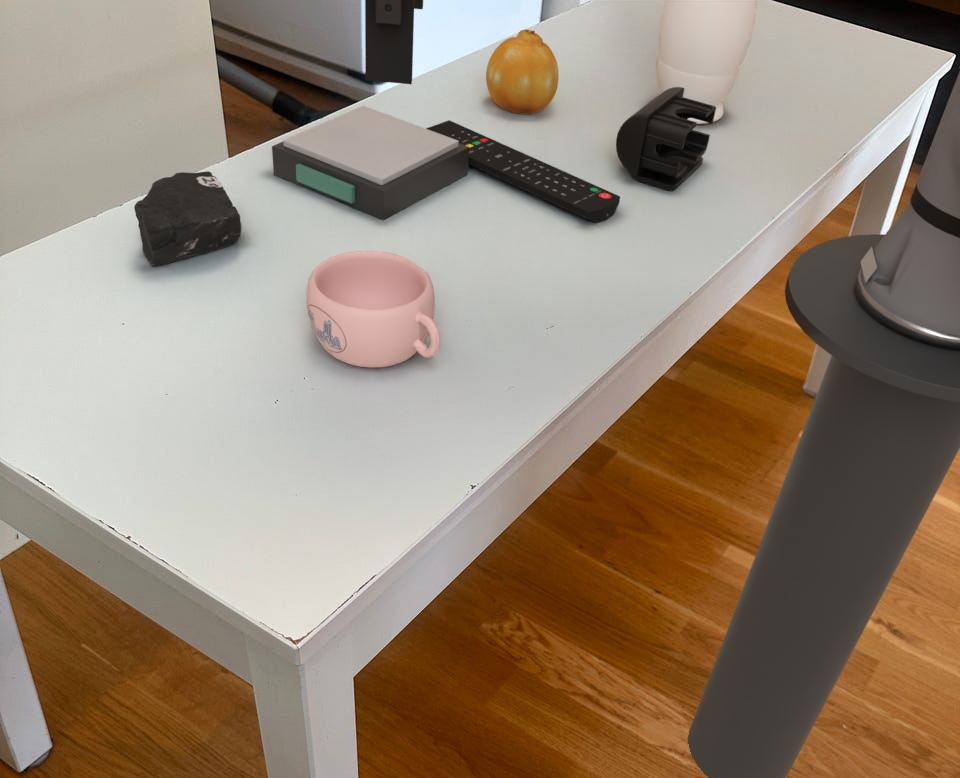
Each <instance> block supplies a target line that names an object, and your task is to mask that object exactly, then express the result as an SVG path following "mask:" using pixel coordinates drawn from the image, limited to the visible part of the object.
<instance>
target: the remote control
mask: <svg viewBox="0 0 960 778" xmlns="http://www.w3.org/2000/svg"><path fill="white" fill-rule="evenodd" d="M425 129H428V130H431V131H433V132H436V133H439V134H441V135H444V136H447V137H450V138H452V139H455V140H458V141H459V143H460V144H462V145H465V146H468V147H469V158H468V165H470V166H472V167H474V168H476V169H478V170H480V171H482V172H484V173H486V174H488V175H491V176H493V177H495V178H498V179H500V180H502V181H505V182H506V183H508V184H510V185H513V186H514V187H517V188H519V189H520V190H521V189H522V190H523V191H526V192H528V193H530V194H532V195H534V196H536V197H538V198H541V199H543V200H544V201H547V202H549V203H552V204H553V205H555V206H558V207H560V208H562V209H564V210H566V211H568V212H570V213H573V214H575V215H577V216H579V217H581V218H584V219H586V220H588V221H592V222H595V223H599V222H600V223H601V222H604V221H607V220H609V218H611V217H612V216H614V214H615V213H616V211H617V208H618V206H619V205H620V200H621V196H620V195H619V194H617V193H615V192H614V193H613V192H611V191H609V190H607V189H604V188H602V187H600V186H598V185H596V184H593V183H591V182H589V181H586V180H584V179H582V178H580V177H578V176H575V175H573V174H571V173H568V172H566V171H564V170H562V169H560V168H558V167H555V166H553V165H551V164H548V163H546V162H544V161H541V160H540V159H537V158H535V157H533V156H530V155H528V154H526V153H524V152H521V151H519V150H517V149H516V148H513V147H510V146H508V145H506V144H503V143H501V142H499V141H497V140H494V139H493V138H490V137H488V136H486V135H483V134H481V133H479V132H477V131H475V130H473V129H470V128H468V127H466V126H463V125H462V124H459V123H457V122H454V121H452V120H450V119H449V120H446V121H443V122H439V123H436V124H434V125H432V126H429V127H426V128H425Z"/></svg>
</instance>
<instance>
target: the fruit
mask: <svg viewBox="0 0 960 778" xmlns="http://www.w3.org/2000/svg"><path fill="white" fill-rule="evenodd" d="M485 81H486V87H487V92H488V94H489V95H490V97H491V100H492V101H494V103H495V104H496V105H497V106H498V107H500V108H501V109H503V110H506V111H508V112H510V113H515V114H520V115H521V114H523V115H527V114H528V115H530V114H534V113H538V112H540V111H542V110H544V109H545V108H546V107H548V106H549V104H551V102H552V101H553V99H554V98H555V96H556V93H557V90H558V86H559V65H558V61H557V59H556V56H555V54H554V53H553V51H552V49H551V48H550V46H549V45H548V44H547V43H545V42H544V39H543V38H542V37H541V36H540V35H539V34H538V33H537V32H536V31H535V30H530V29H522V30H520V31H519V32H518V34H517V35H516V36H513V37H508V38H507V39H505V40H503V41H502V42H501V43H500V44H499V45H498V46H497V47H496V48H495V49H494V51H493V52H492V54H491V55H490V57H489V59H488V61H487V66H486V71H485Z"/></svg>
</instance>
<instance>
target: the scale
mask: <svg viewBox="0 0 960 778" xmlns="http://www.w3.org/2000/svg"><path fill="white" fill-rule="evenodd" d="M271 154H272V168H273V175H274V176H276V177H278V178H281V179H284V180H286V181H288V182H291V183H293V184H295V185H298V186H301V187H303V188H305V189H307V190H310V191H312V192H315V193H317V194H320V195H322V196H324V197H327V198H329V199H331V200H334V201H337V202H339V203H341V204H344V205H346V206H349V207H351V208H352V209H353V208H354V209H355V210H358V211H360V212H363V213H366V214H368V215H370V216H373V217H375V218H378V219H379V220H381V221H382V220H383V221H384V220H386V219H388V218H389V217H392V216H393V215H396V214H397V213H399V212H401V211H403V210H404V209H407V208H408V207H411V206H412V205H414V204H416V203H417V202H419V201H421V200H423V199H425V198H427V197H429V196H430V195H433V194H434V193H436V192H438V191H439V190H441V189H443V188H445V187H447V186H449V185H451V184H453V183H454V182H457V181H458V180H460V179H462V178H463V177H466V176H467V175H468V173H469V172H468V171H469V164H468V158H469V147H468V146H465V145H462V144H460V143H459V141H458V140H455V139H452V138H450V137H447V136H444V135H441V134H439V133H436V132H433V131H431V130H428V129H426V128H425V127H422V126H420V125H417V124H414V123H412V122H409V121H406V120H403V119H400V118H398V117H396V116H392V115H390V114H387V113H385V112H381V111H379V110H376V109H374V108H371V107H368V106H365V105H361V106H359V107H357V108H355V109H352V110H350V111H348V112H344V113H343V114H341V115H337V116H336V117H333V118H331V119H328V120H327V121H324V122H321V123H320V124H316V125H315V126H312V127H310V128H308V129H305V130H303V131H301V132H299V133H296V134H294V135H292V136H289V137H287V138H285V139H283V140H282V141H281V142H279V143H276V144H274V145H272V146H271Z"/></svg>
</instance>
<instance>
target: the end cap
mask: <svg viewBox="0 0 960 778" xmlns="http://www.w3.org/2000/svg"><path fill="white" fill-rule="evenodd" d="M683 93H684V88H682V87H673V88H670V89H667V90H666V91H664V92H662V93H661V94H660V95H659V94H657V96H656V97H654V98H653V99H652V100H650V101H649V102H647V103H646V104H645V105H644V106H642V108H640V109H639V110H638V111H636V112H635V113H633V114H632V115H631V116H630V117H629V118H627V119H626V120H625V121H624V122H623V123H622V124H621V126H620V127H619V129H618V132H617V135H616V137H615V149H616V153H617V154H616V155H617V158H618V160H619V162H620V163H621V165H622V166H623V168H624V169H625V170H626V171H627V173H629V175H630V176H631V178H632V179H634V180H636V181H637V182H639V183H642V184H645V185H647V186H652V187H655V188H658V189H661V190H664V191H668V192H673V191H675V190H676V189H677V188H678V187H680V185H682V184H683V183H684V182H685V181H686V180H687V179H688V178H689V177H690V176H691V175H692V174H693V173H694V172H695V171H696V170H698V169H699V168H700V167H701V166H702V164H703V162H704V161H703V160H704V158H703V157H702V156H703V155H704V154H705V153H706V151H707V148H708V145H709V141H710V137H711V135H710V134H709V133H705V132H701V131H699V130H698V131H697V130H694V129H695V128H696V127H697V124H696V123H697V122H694V121H691V120H687V119H688V118H694V119H698V120H701V121H705V122H708V123H707V124H713V123H714V122H713V120H714V116H715V111H716V106H713V105H709V104H705V103H702V102H698V101H695V100H691V99H687V98H684V97H683Z"/></svg>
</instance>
